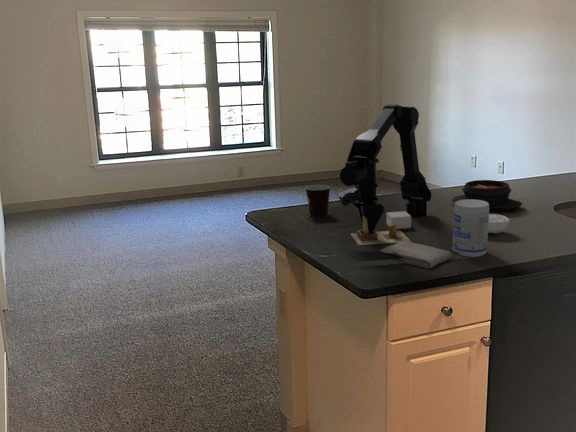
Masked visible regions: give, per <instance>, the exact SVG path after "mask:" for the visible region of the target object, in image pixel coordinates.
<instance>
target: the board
mask: <svg viewBox="0 0 576 432" xmlns="http://www.w3.org/2000/svg"><path fill="white" fill-rule="evenodd" d="M350 235H351V237H352V239H354V242H356V244H357V245H358V246H366V245H367V246H368V245H379V244H392V243H394V244H395V243H397V242H400V241H407V242H411V240H410V239H409V238H408V236H406V234H404V233H403V231H402V230H400V229H396V225H389V226H388V230H385V231H376V230H375V229H374V231H373V233H372V234H363V229H358V230H356V233H350Z"/></svg>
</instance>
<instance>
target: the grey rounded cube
mask: <svg viewBox="0 0 576 432" xmlns="http://www.w3.org/2000/svg"><path fill="white" fill-rule="evenodd" d="M385 214H386V226H388V227H389V225H396V230H400V229H410V228H411V229H412V217H411V216H410V215H409V214H408V213H407V212H406V211H405V210H404V211H403V210H402V211H391V212H386V213H385Z"/></svg>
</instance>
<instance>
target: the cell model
mask: <svg viewBox="0 0 576 432" xmlns="http://www.w3.org/2000/svg"><path fill="white" fill-rule="evenodd" d="M510 220H511V219H509V218H508V217H507V216H505V215H501V214H498V213H489V223H488V234H493V235H494V234H497V235H498V234H500V233H502V232H503V231H504V230H506V229H507V227H508V225H509V223H510Z"/></svg>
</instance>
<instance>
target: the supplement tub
mask: <svg viewBox="0 0 576 432" xmlns="http://www.w3.org/2000/svg"><path fill="white" fill-rule="evenodd" d="M489 214H490V210H489V203H488V202H485V201H482V200H474V199H465V200H459V201H456V202H454V207H453V220H452V221H453V225H452V227H453V228H452V229H453V230H452V247H451V248H452V250H453V251H454V252H456V253H455V254H456V255H458V256H461V257H467V258H468V257H469V258H477V257H482V256H484V255H485V254H487V252H488V251H487V250H488V236H489V233H488V223H489Z"/></svg>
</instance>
